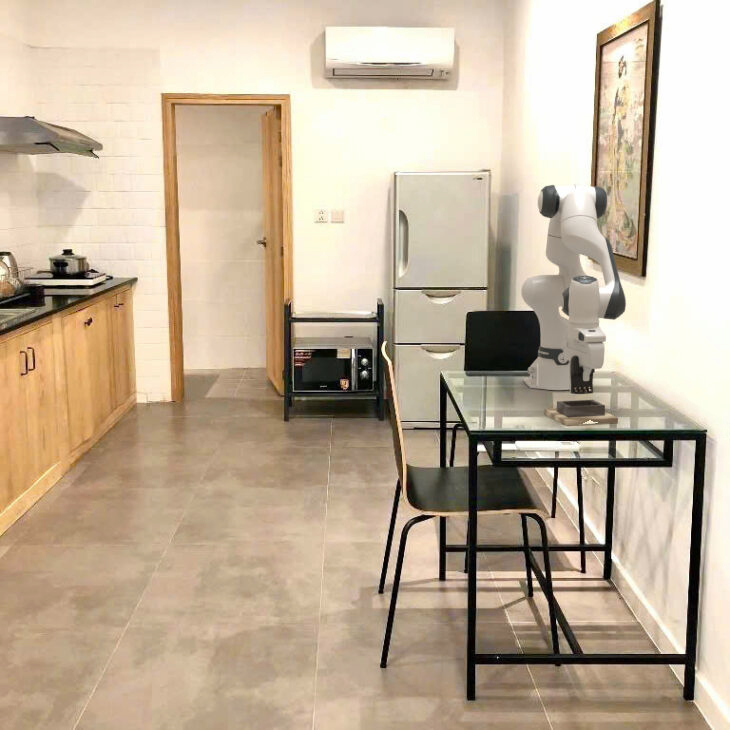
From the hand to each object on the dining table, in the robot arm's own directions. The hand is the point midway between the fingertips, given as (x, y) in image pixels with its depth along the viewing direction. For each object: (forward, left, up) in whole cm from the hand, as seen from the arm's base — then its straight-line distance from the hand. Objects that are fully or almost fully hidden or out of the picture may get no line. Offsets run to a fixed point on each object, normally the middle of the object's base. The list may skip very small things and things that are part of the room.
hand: (581, 379), depth 265 cm
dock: (0, 0, -12) cm, 12 cm away
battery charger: (+1, 0, -4) cm, 5 cm away
